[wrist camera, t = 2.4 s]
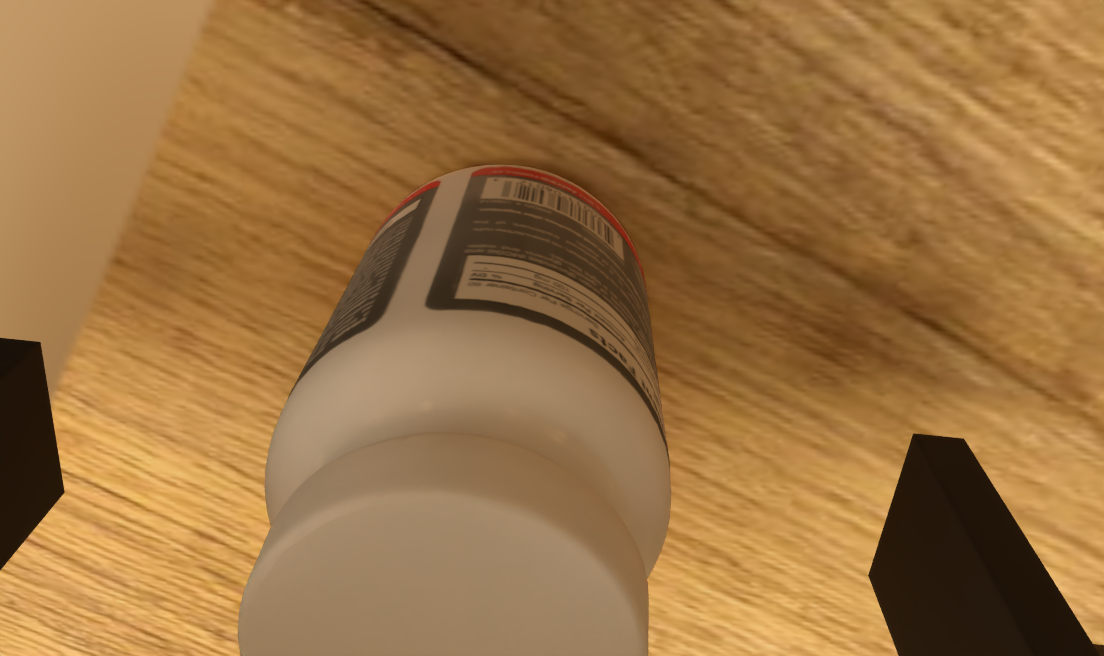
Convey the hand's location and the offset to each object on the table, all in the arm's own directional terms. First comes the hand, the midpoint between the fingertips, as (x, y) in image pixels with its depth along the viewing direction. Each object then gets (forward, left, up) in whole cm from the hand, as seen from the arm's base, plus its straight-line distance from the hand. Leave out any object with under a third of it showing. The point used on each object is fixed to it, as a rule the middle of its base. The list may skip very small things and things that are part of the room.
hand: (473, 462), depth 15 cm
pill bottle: (0, 0, -6) cm, 6 cm away
